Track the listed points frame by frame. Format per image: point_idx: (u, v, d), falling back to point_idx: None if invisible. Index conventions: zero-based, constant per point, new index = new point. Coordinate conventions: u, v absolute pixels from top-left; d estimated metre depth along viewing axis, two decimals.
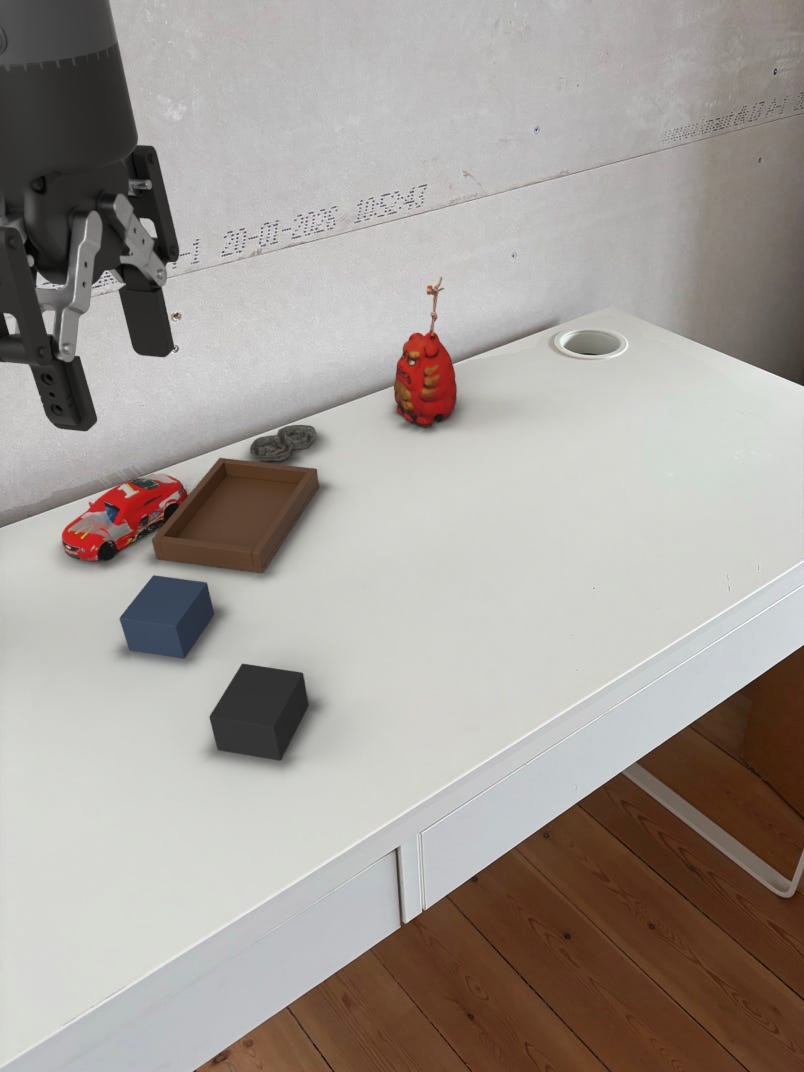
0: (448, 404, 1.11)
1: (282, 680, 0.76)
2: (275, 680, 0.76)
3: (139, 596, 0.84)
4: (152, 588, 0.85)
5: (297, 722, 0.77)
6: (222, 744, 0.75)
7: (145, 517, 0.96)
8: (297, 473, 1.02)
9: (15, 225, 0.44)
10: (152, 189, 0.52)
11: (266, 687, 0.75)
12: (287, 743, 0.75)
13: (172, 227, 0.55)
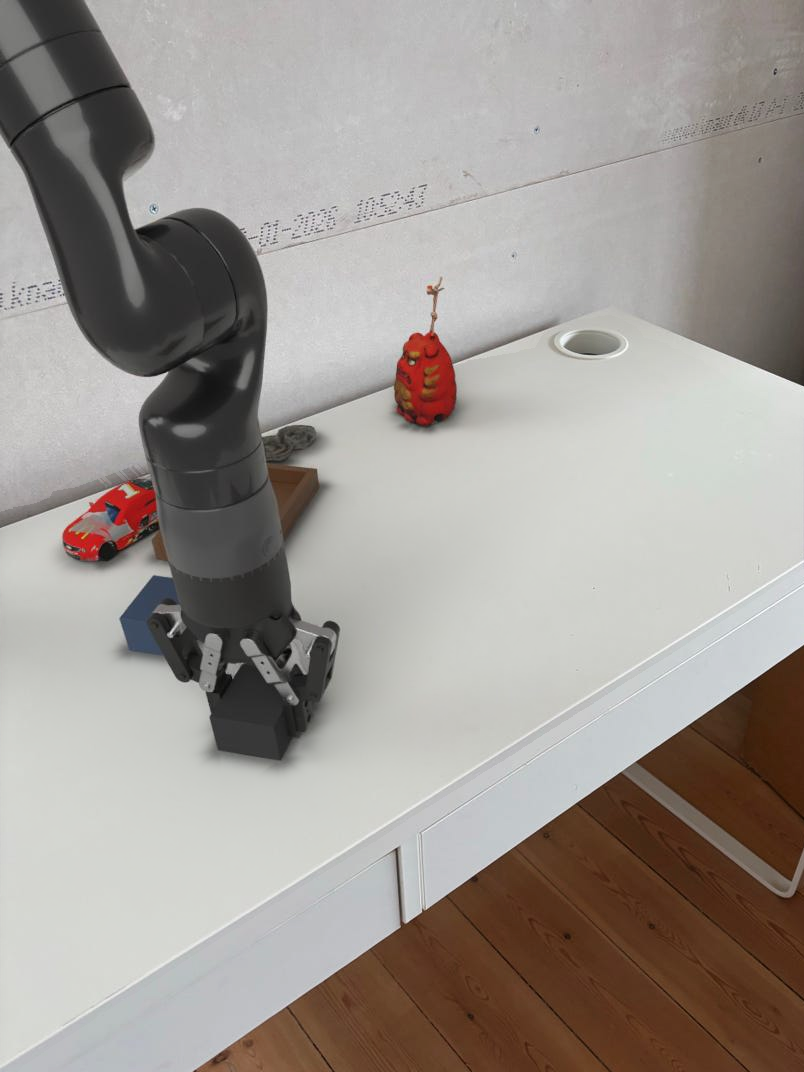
0: (448, 404, 1.11)
1: None
2: None
3: (139, 596, 0.84)
4: (152, 588, 0.85)
5: None
6: (222, 745, 0.75)
7: (146, 517, 0.96)
8: (297, 473, 1.02)
9: (174, 614, 0.71)
10: None
11: (266, 687, 0.75)
12: (287, 743, 0.75)
13: (319, 687, 0.71)
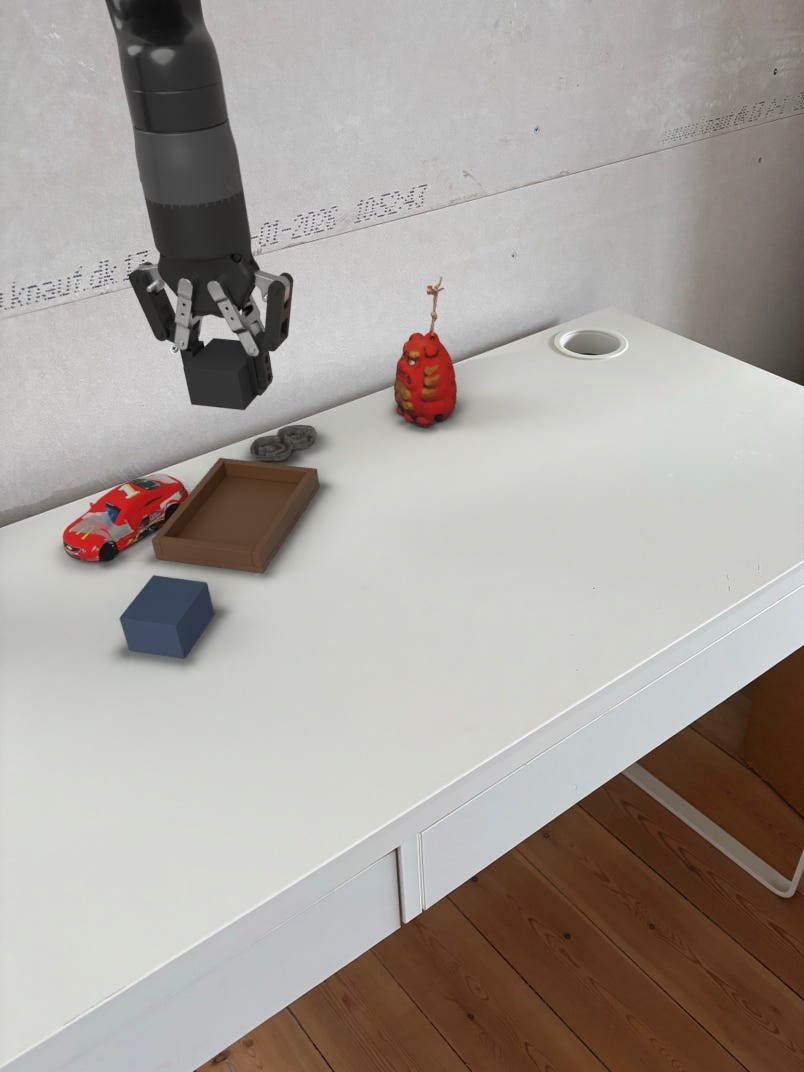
0: (448, 404, 1.11)
1: None
2: (241, 347, 0.88)
3: (139, 596, 0.84)
4: (152, 588, 0.85)
5: None
6: (195, 398, 0.87)
7: (146, 517, 0.96)
8: (297, 473, 1.02)
9: (152, 269, 0.83)
10: (267, 303, 0.82)
11: (233, 351, 0.88)
12: (251, 399, 0.87)
13: (276, 334, 0.83)
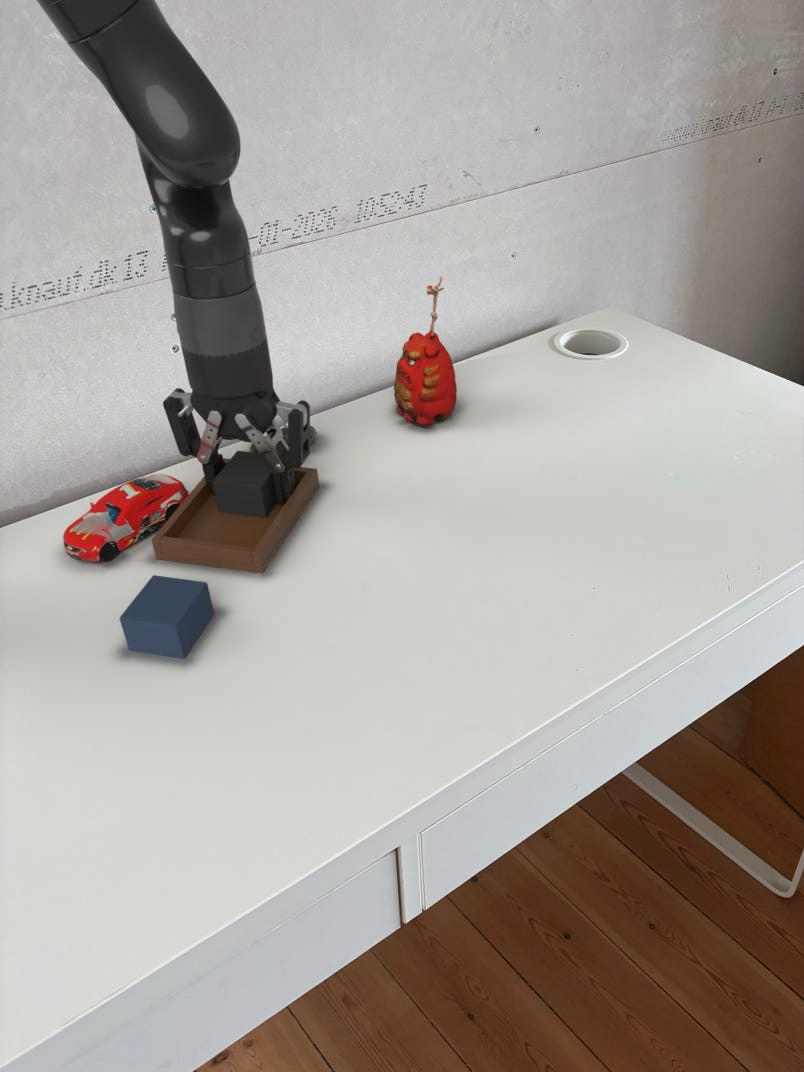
0: (448, 404, 1.11)
1: None
2: (262, 460, 1.00)
3: (139, 596, 0.84)
4: (152, 588, 0.85)
5: None
6: (222, 506, 0.98)
7: (146, 518, 0.96)
8: (297, 473, 1.02)
9: (184, 398, 0.94)
10: (288, 429, 0.93)
11: (255, 464, 0.99)
12: (271, 507, 0.99)
13: (299, 454, 0.94)
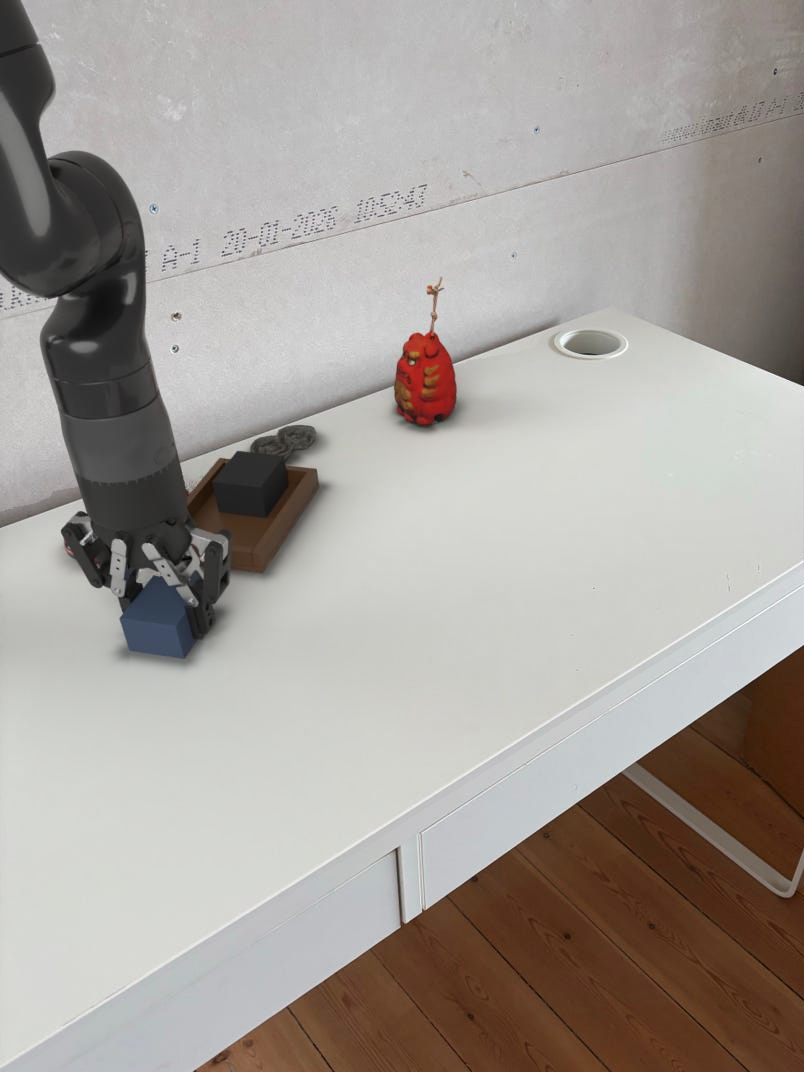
0: (448, 404, 1.11)
1: (268, 460, 1.00)
2: (262, 460, 1.00)
3: (139, 596, 0.84)
4: (152, 588, 0.85)
5: (279, 494, 1.00)
6: (222, 506, 0.98)
7: None
8: (297, 473, 1.02)
9: (85, 524, 0.80)
10: (204, 562, 0.78)
11: (255, 464, 0.99)
12: (271, 507, 0.99)
13: (215, 589, 0.80)
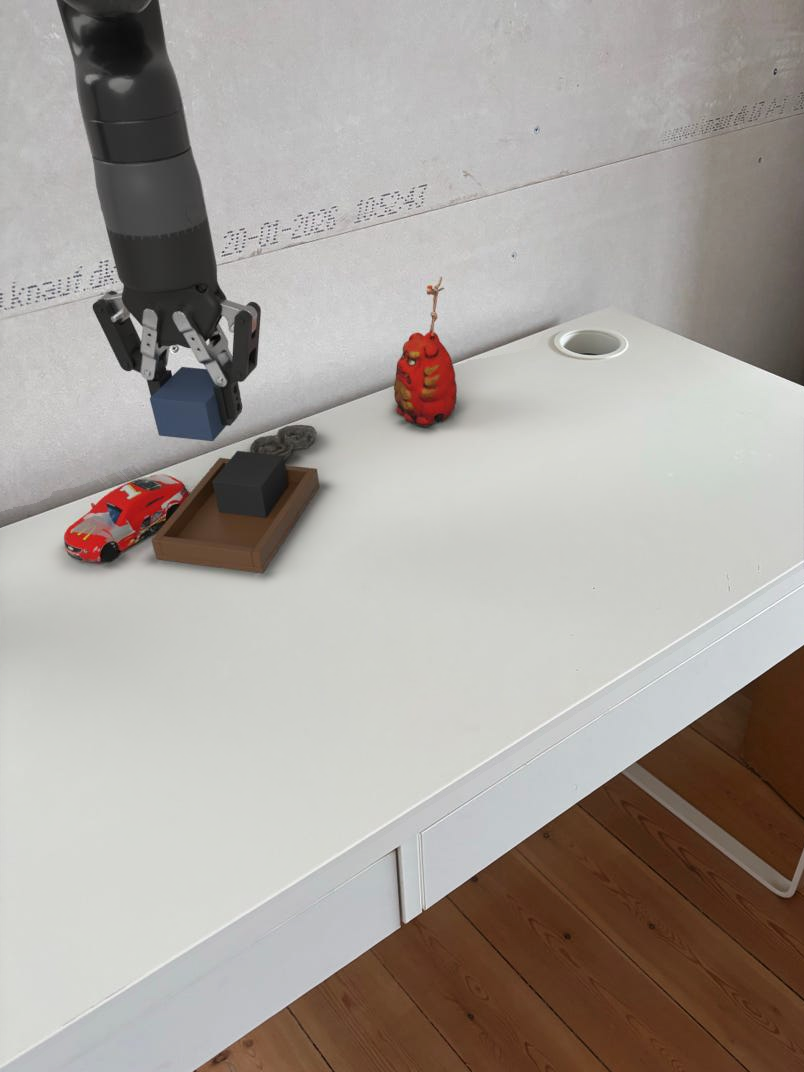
0: (448, 404, 1.11)
1: (268, 460, 1.00)
2: (262, 460, 1.00)
3: (168, 382, 0.86)
4: (181, 376, 0.86)
5: (279, 494, 1.00)
6: (222, 506, 0.98)
7: (147, 518, 0.96)
8: (297, 473, 1.02)
9: (116, 299, 0.81)
10: None
11: (255, 464, 0.99)
12: (271, 507, 0.99)
13: (244, 364, 0.81)
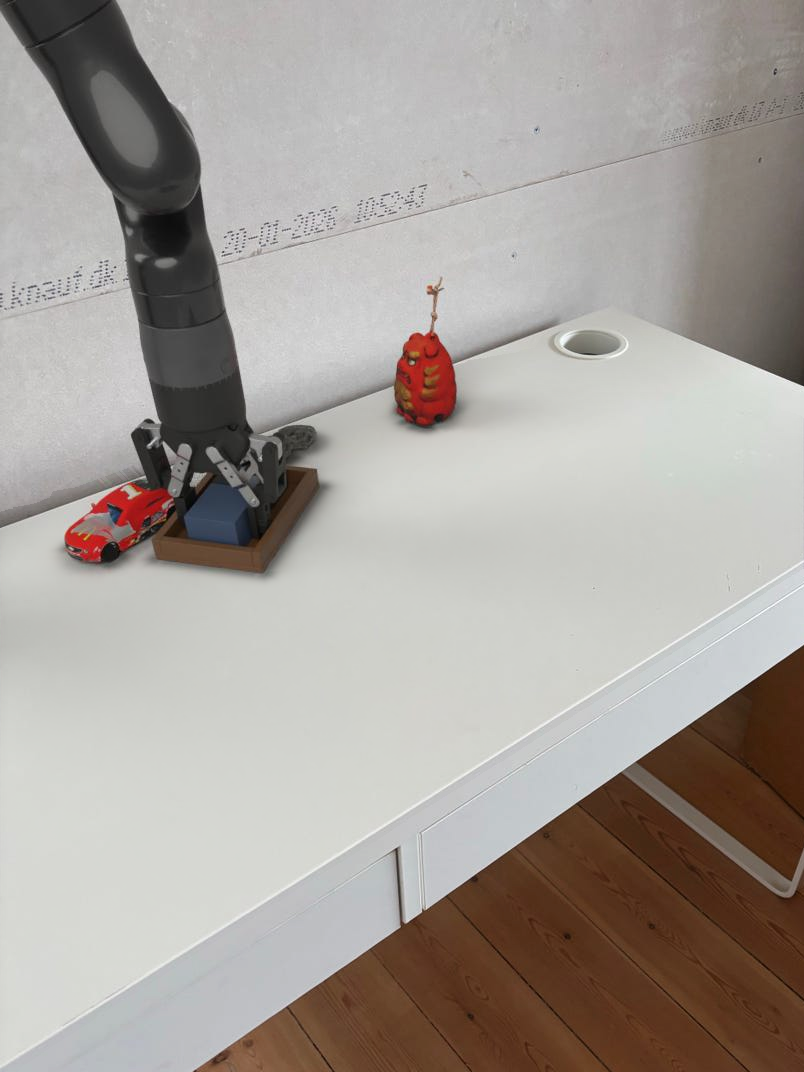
0: (448, 404, 1.11)
1: None
2: None
3: (200, 499, 0.94)
4: (211, 493, 0.95)
5: None
6: None
7: (148, 518, 0.96)
8: (297, 473, 1.02)
9: (154, 430, 0.90)
10: (262, 462, 0.88)
11: None
12: (271, 507, 0.99)
13: (274, 488, 0.90)
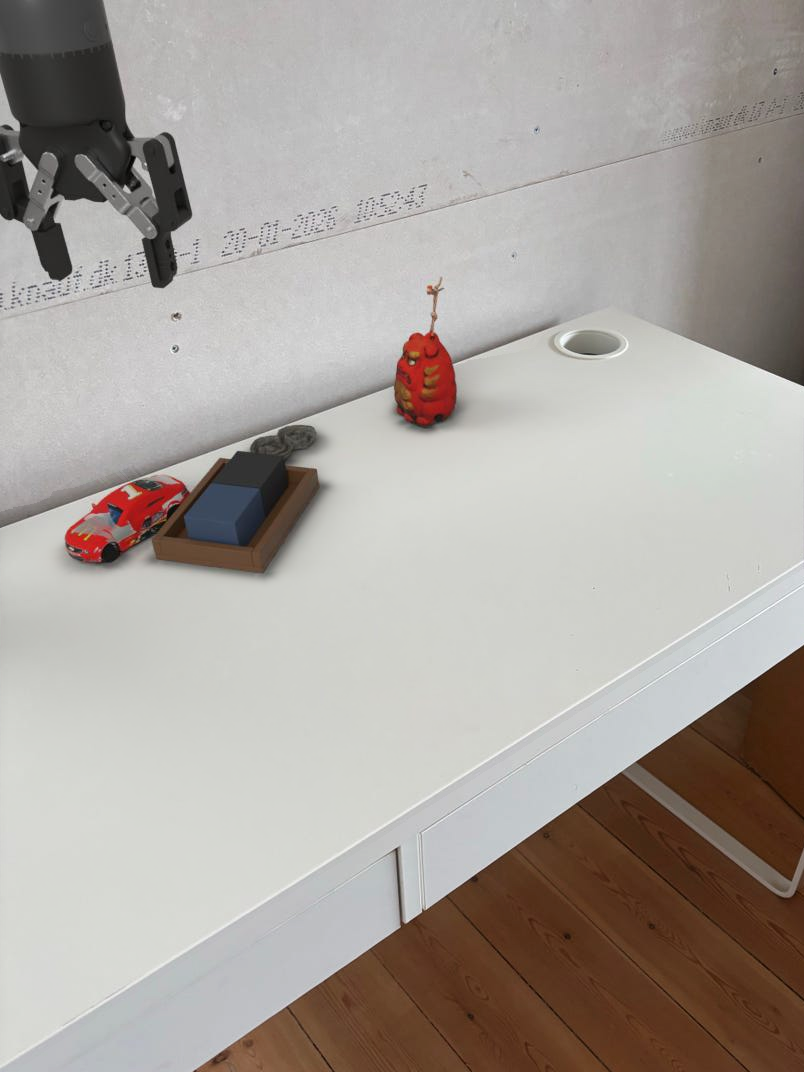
0: (448, 404, 1.11)
1: (268, 460, 1.00)
2: (262, 460, 1.00)
3: (200, 499, 0.94)
4: (211, 493, 0.95)
5: (279, 494, 1.00)
6: None
7: (148, 518, 0.96)
8: (297, 473, 1.02)
9: (11, 137, 0.71)
10: (148, 170, 0.70)
11: (255, 464, 0.99)
12: (271, 507, 0.99)
13: (170, 206, 0.71)
